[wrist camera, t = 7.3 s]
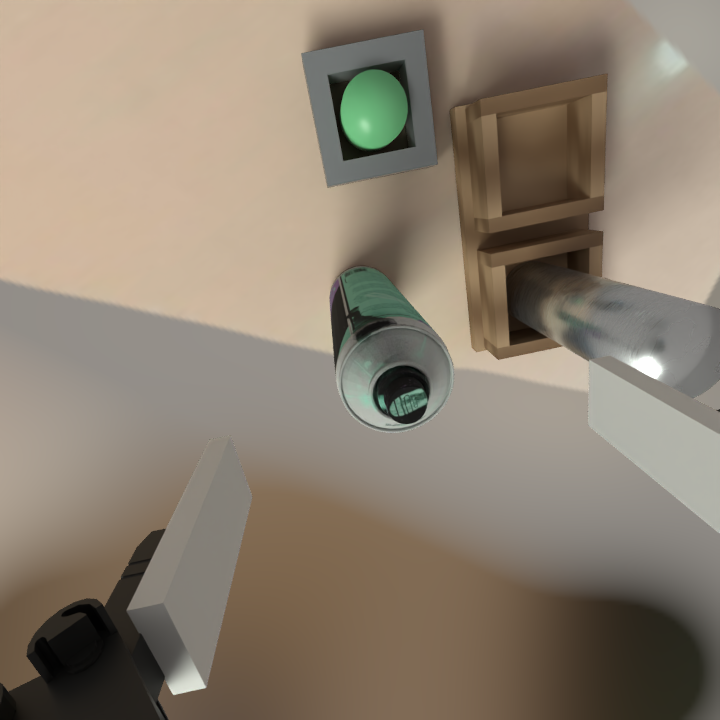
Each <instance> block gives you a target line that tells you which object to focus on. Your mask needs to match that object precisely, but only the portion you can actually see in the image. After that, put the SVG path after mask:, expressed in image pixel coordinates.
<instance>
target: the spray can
mask: <svg viewBox="0 0 720 720" xmlns="http://www.w3.org/2000/svg"><path fill="white" fill-rule="evenodd" d="M330 312H331V325H332V337H333V350H334V362H335V374H336V384H337V388H338V392H339V394H340V396H341V399H342V401H343V403H344V405H345V407H346V409H347V410H348V411H349V413H350V414H351V415H352V417H354V418H355V419H356V420H357V421H358V422H359V423H361V424H363V425H365V426H366V427H369V428H371V429H374V430H377V431H381V432H389V433H394V432H404V431H409V430H412V429H415V428H417V427H419V426H422V425H423V424H425V423H427V422H428V421H430V420H431V419H432V418H434V417H435V416H436V415H437V414H438V413H439V412H440V411H441V409H442V408H443V407H444V406H445V404H446V402H447V401H448V399H449V397H450V394H451V391H452V388H453V384H454V368H453V363H452V360H451V357H450V354H449V353H448V350H447V347H446V346H445V344H444V342H443V341H442V339H441V338H440V337H439V336H438V334H437V333H436V332H435V331H434V330H433V329H432V328H431V327H430V325H429V324H428V323H427V322H426V321H425V320H424V319H423V318H422V316H421V315H420V314H419V313H418V312H417V311H416V310H415V309H414V307H413V306H412V305H411V304H410V303H409V302H408V301H407V300H406V298H405V297H404V296H403V295H402V294H401V293H400V292H399V290H398V289H397V288H396V287H395V286H394V285H393V284H392V283H391V281H390V280H389V279H388V278H387V277H386V276H385V275H384V274H383V273H381V272H380V271H378V270H377V269H374V268H372V267H367V266H357V267H353V268H350V269H348V270H346V271H344V272H343V273H342V274H340V276H339V277H338V278H337V279H336V280H335V282H334V283H333V286H332V288H331V292H330Z"/></svg>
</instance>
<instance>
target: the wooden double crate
mask: <svg viewBox="0 0 720 720" xmlns="http://www.w3.org/2000/svg"><path fill="white" fill-rule="evenodd" d="M606 109H607V74H603V75H598V76H593V77H588V78H583V79H578V80H573V81H568V82H563V83H558V84H553V85H548V86H543V87H538V88H533V89H528V90H523V91H518V92H513V93H508V94H503V95H498V96H493V97H488V98H483V99H480V100H478V101H477V102H475V103H473V104H468V105H463V106H458V107H454V108H453V109H451V110H450V119H451V130H452V140H453V151H454V162H455V172H456V183H457V194H458V205H459V215H460V226H461V237H462V247H463V258H464V269H465V279H466V290H467V301H468V311H469V322H470V333H471V343H472V348H473V349H474V350H475V351H476V352H479V351H484V350H488V351H489V352H490V353H491V354H492V355H493V356H495V357H496V358H497V359H498V360H500V359H504V358H509V357H514V356H519V355H523V354H528V353H533V352H538V351H543V350H547V349H552V348H557V347H562V345H560V344H558V343H557V342H555V341H553V340H552V339H550V338H548V337H547V336H545V335H543V334H542V333H540V332H538V331H536V330H535V329H533V328H531V327H530V326H528V325H526V324H525V323H523V322H521V321H520V320H518V319H516V318H514V317H513V316H511V315H510V314H509V313H508V310H507V292H506V277H507V276H508V274H509V273H510V272H511V271H512V270H513V269H514V268H515V267H517V266H518V265H520V264H522V263H525V262H528V261H541V262H545V263H549V264H553V265H556V266H560V267H564V268H568V269H572V270H575V271H579V272H583V273H587V274H591V275H594V276H598V277H602V249H603V231H595V230H588V219H589V213H592V212H597V211H602V210H604V179H605V144H606Z"/></svg>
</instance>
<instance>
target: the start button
mask: <svg viewBox="0 0 720 720" xmlns="http://www.w3.org/2000/svg"><path fill="white" fill-rule="evenodd" d="M407 113H408V103H407V97H406V94H405V91H404V89H403V87H402V86H401V84H400V83H399V81H398V80H397V79H396V78H395V77H394V76H392V75H391V74H389V73H387V72H385V71H382V70H375V69H373V70H367V71H364V72H362V73H360V74H358V75H357V76H355V77H354V78H353V79H352V80H351V81H350V83H349V84H348V86H347V87H346V89H345V91H344V94H343V98H342V103H341V108H340V125H341V129H342V132H343V134H344V136H345V138H346V139H347V140H348V142H349V143H350V144H351V145H353V146H354V147H355V148H357V149H359V150H362V151H367V152H373V151H378V150H380V149H383V148H384V147H386V146H387V145H388V144H389V143H390V142H392V141H393V140H394V139H395V138H396V137H397V136H398V135H399V133H400V132H401V131H402V129H403V127H404V125H405V122H406V119H407Z"/></svg>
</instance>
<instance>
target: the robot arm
mask: <svg viewBox="0 0 720 720" xmlns="http://www.w3.org/2000/svg"><path fill="white" fill-rule="evenodd" d="M588 406H589V407H588V426H589V427H591V428H592V429H593V430H594V431H595V432H597V433H598V434H599V435H600V436H602V437H603V438H604V439H605V440H606V441H608V442H609V443H610V444H611V445H613V446H614V447H615V448H616V449H618V450H619V451H620V452H621V453H622V454H623V455H625V456H626V457H627V458H628V459H630V460H631V461H632V462H633V463H634V464H636V465H637V466H638V467H639V468H641V469H642V470H643V471H644V472H645V473H647V474H648V475H649V476H650V477H651V478H653V479H654V480H655V481H657V483H659V484H660V485H661V486H662V487H664V488H665V489H666V490H667V491H669V492H670V493H671V494H672V495H673V496H675V497H676V498H677V499H678V500H679V501H681V502H682V503H683V504H684V505H685V506H687V507H688V508H689V509H690V510H692V511H693V512H694V513H695V514H696V515H698V516H699V517H700V518H701V519H702V520H704V521H705V522H706V523H707V524H709V525H710V526H711V527H712V528H713V529H715V530H716V531H717V532H718V533H720V409H719V410H714V409H712V408H711V407H708V406H707V405H705V404H703V403H701V402H699V401H697V400H695V399H693V398H691V397H689V396H687V395H685V394H683V393H682V392H680V391H678V390H676V389H674V388H672V387H670V386H668V385H666V384H664V383H662V382H660V381H658V380H656V379H654V378H652V377H651V376H649V375H647V374H645V373H643V372H641V371H639V370H637V369H635V368H633V367H631V366H629V365H627V364H625V363H623V362H622V361H620V360H618V359H616V358H614V357H612V356H610V355H609V356H605V357H600V358H595V359H590V360H589V403H588ZM251 500H252V495H251V492H250V489H249V486H248V483H247V480H246V478H245V475H244V472H243V469H242V466H241V464H240V461H239V458H238V455H237V452H236V450H235V446H234V443H233V441H232V438H231V436H230V435H229V436H224V437H219V438H215V439H210V440H209V441H208V444H207V446H206V448H205V450H204V452H203V454H202V456H201V458H200V460H199V462H198V464H197V466H196V468H195V470H194V472H193V474H192V476H191V479H190V481H189V483H188V485H187V487H186V489H185V491H184V493H183V495H182V497H181V499H180V501H179V503H178V506H177V507H176V509H175V512H174V514H173V516H172V518H171V520H170V522H169V524H168V526H167V528H166V529H162V530H157V531H153V532H151V533H150V534H149V535H148V536H147V537H146V538H145V539H144V540H143V541H142V543H140V545H139V546H138V547H137V548H136V550H135V552H134V554H133V556H132V558H131V560H130V561H129V563H128V564H129V566H127V567H126V568H125V570H124V572H123V574H122V576H121V580H119V581H118V583H117V585H116V587H115V589H114V590H113V592H112V594H111V596H110V598H109V600H108V602H107V603H106V605H105V607H104V606H103V605H102V603H100V602H99V601H98V600H97V599H84V600H80V601H77V602H74V603H72V604H70V605H68V606H67V607H65V608H63V609H61V610H59V611H58V612H57V613H56V614H54V615H53V616H52V617H51V618H49V619H48V620H47V621H46V622H45V623H44V624H43V625H42V626H41V627H40V628H39V629H38V631H37V632H36V633H35V634H34V636H33V638H32V640H31V642H30V643H29V645H28V649H27V657H28V659H29V660H30V662H31V663H32V664H33V666H34V667H35V668H36V670H37V671H38V673H39V674H40V675H41V676H39V677H37V678H35V679H33V680H31V681H29V682H27V683H25V684H23V685H21V686H19V687H17V688H15V689H13V690H11V691H9V692H8V691H7V690H6V688H5V687H4V686H3V684H1V683H0V720H168V718H167V716H166V714H165V712H164V710H163V708H162V706H161V704H160V702H159V701H158V696H159V693H160V690H161V687H162V684H163V681H164V679H165V681H166V683H167V685H168V686H169V688H170V690H171V692H172V694H173V695H175V694H179V693H184V692H188V691H193V690H198V689H202V688H206V686H207V682H208V678H209V674H210V670H211V666H212V662H213V657H214V653H215V649H216V645H217V641H218V637H219V633H220V628H221V624H222V620H223V616H224V611H225V608H226V604H227V599H228V595H229V591H230V587H231V583H232V579H233V574H234V570H235V566H236V562H237V558H238V554H239V550H240V545H241V541H242V537H243V533H244V529H245V524H246V520H247V517H248V512H249V508H250V504H251Z"/></svg>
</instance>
